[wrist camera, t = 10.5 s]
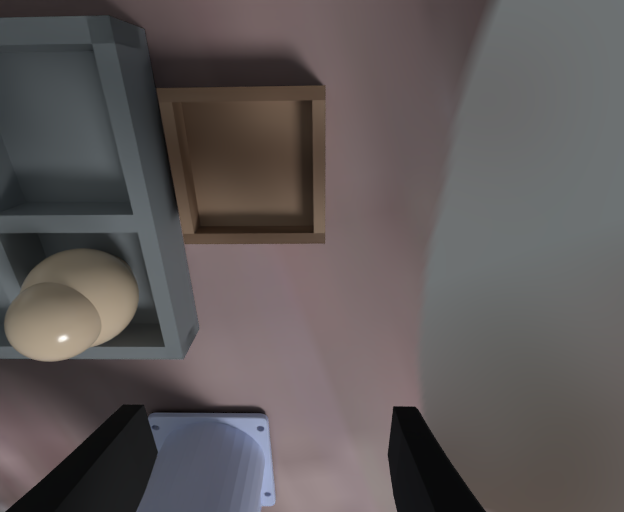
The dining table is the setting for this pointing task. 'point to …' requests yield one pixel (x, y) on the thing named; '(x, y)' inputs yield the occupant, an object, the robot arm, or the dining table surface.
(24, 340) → the brown egg
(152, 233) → the egg tray
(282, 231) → the brown square tray
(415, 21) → the dining table surface
